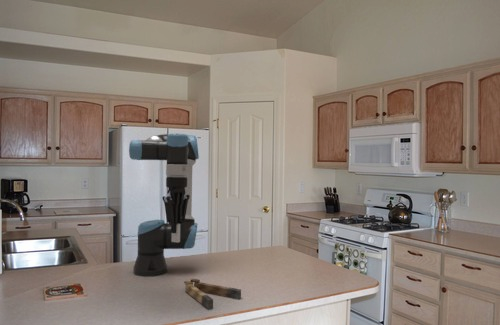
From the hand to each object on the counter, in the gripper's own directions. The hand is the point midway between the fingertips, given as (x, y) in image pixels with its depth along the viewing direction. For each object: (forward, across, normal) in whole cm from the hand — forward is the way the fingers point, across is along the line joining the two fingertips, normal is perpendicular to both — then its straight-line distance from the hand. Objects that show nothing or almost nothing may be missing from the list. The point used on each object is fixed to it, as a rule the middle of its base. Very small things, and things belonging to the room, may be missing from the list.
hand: (175, 241), depth 144 cm
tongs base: (+22, +15, -6) cm, 27 cm away
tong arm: (+22, +7, -5) cm, 23 cm away
